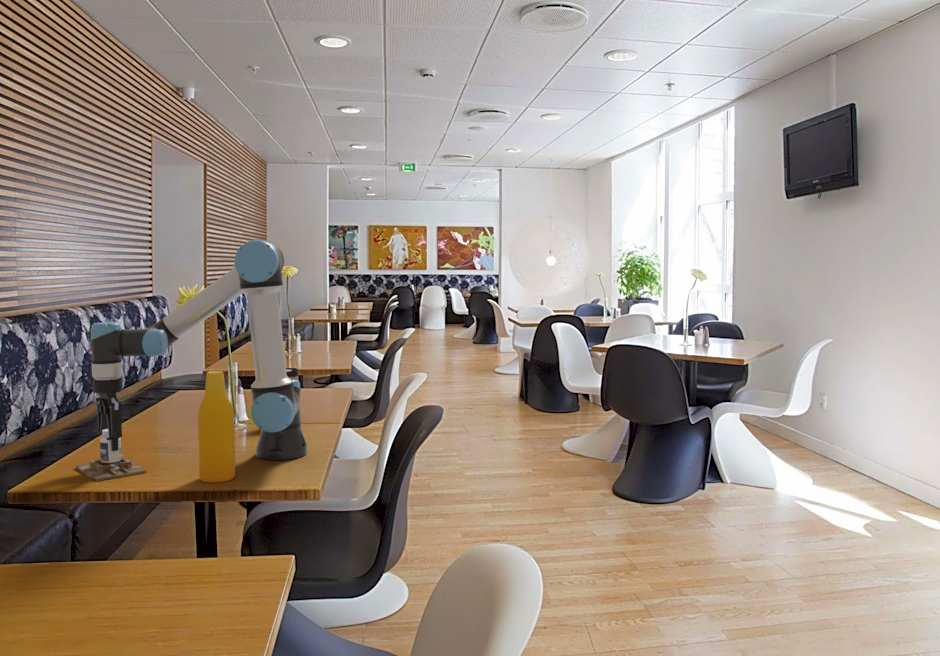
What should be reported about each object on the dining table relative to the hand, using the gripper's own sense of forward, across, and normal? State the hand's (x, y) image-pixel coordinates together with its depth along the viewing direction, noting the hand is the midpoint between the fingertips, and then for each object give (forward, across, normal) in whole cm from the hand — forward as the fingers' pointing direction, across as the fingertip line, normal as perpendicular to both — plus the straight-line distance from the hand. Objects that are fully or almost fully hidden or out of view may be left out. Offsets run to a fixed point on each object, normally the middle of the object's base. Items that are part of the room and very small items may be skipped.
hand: (110, 459), depth 213 cm
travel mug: (+3, +24, -69) cm, 74 cm away
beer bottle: (+3, -28, -18) cm, 34 cm away
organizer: (+3, 0, 0) cm, 3 cm away
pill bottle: (+1, 0, 0) cm, 1 cm away
